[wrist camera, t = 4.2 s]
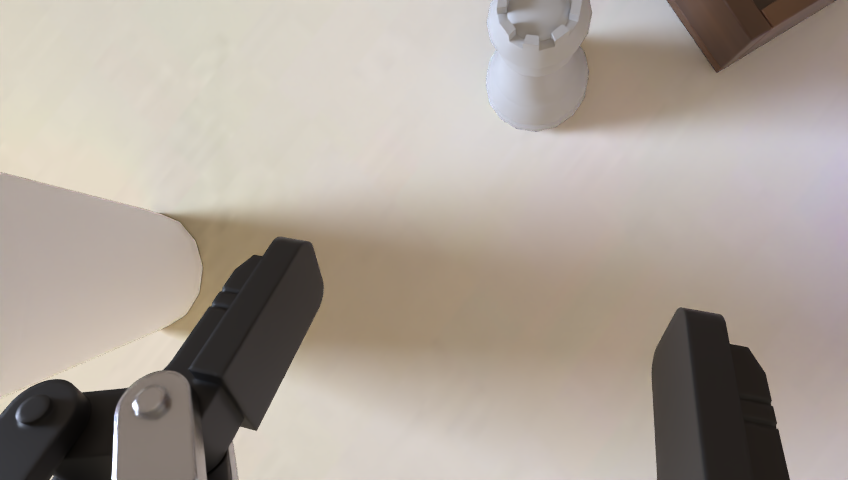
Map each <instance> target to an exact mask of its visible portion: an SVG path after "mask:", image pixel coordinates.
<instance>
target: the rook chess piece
mask: <svg viewBox="0 0 848 480" xmlns="http://www.w3.org/2000/svg"><path fill="white" fill-rule="evenodd" d="M591 16H592V10H591V5H590V0H492V1H491V3H490V8H489V14H488V19H487V26H488V31H489V36H490V41H491V43H492V44H493V45H494V47H495V48H496V51H495V52H494V54H493V56H492V57H491V59H490V61H489V66H488V71H487V76H486V82H487V83H486V87H487V92H488V97H489V102H490V105H491V106H492V108H493V109H494V110H495V112H496V113H497V115H498V116H499V117H500V119H501V120H503V121H505V122H506V123H508V124H510V125H511V126H513V127H515V128H516V129H521V130H528V131H535V132H537V131H541V130H546V129H550V128H554V127H557V126H558V125H560V124H561V123H562V122H564V121H565V120H567V119H568V118H570V117H571V116H572V115H573V114H574V113H575V111H576V110H577V108H578V107H579V105H580V104H581V102H582V101H583V99H584V97H585V92H586V87H587V82H588V74H589V70H588V66H587V61H586V56H585V52H584V51H583V49H582V48H581V47H580V45H581V43H582V41H583V40H584V38H585V37H586V35H587V34H588V31H589V26H590V21H591Z"/></svg>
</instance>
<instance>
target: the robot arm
mask: <svg viewBox="0 0 848 480" xmlns="http://www.w3.org/2000/svg"><path fill="white" fill-rule="evenodd" d="M323 290H324V285H323V280H322V276H321V273H320V269H319V266H318V262H317V259H316V255H315V252H314V248H313V245H312V244H311V243H310V242H308V241H303V240H297V239H291V238H285V237H277V238H276V239H274V240H273V242H272V243H271V244H270V246H269V247H268V249H267V250H266V252H265V254H264V255H263V256H257V255H253V256H252V257H251V258H249V259H248V260H247V261H245V262H244V263H243V264H242V265H240V266H239V267H238V268H236V269H235V270H234V272H233V273H232V275H231V276H230V278H229V279H228V280H227V282H226V283H225V285H224V286H223V289H222V291H221V292H219V293H218V295H217V296H216V298H215V299H214V301H213V302H212V306H211V307H210V306H209V308H208V309H207V311H206V312H205V313H204V315H203V316H202V318H201V319H200V321H199V322H198V324H197V325H196V326H195V328H194V329H193V331H192V332H191V334H190V335H189V336H188V338H187V339H186V341H185V342H184V344H183V345H182V347H181V348H180V349H179V351H178V352H177V354H176V355H175V357H174V358H173V359H172V361H171V362H170V363H169V365H168V366H167V367H166V368H165V369H164V370H162V371H157V372H153V373H150V374H148V375H146V376H144V377H142V378H140V379H139V380H137V381H136V382H134V383H133V384H132V385H131V386H130V387H129V388H124V389H114V390H103V391H93V392H83V393H82V392H81V391H79V390H78V389H77V388H76V387H75V386H74V385H73V384H72V383H70V382H68V381H66V380H60V379H54V380H48V381H44V382H41V383H38V384H36V385H34V386H32V387H30V388H28V389H27V390H25V391H24V392H22V393H21V394H20V395H18V396H17V397H16V398H15V399H14V400H13V401H12V402H11V403H10V404H9V405H8V406H7V407H6V409H5V410H4V411H3V412H2V414H1V415H0V480H49V479H50V478H51V476H52V475H54V477H53V478H52V480H239V479H238V472H237V465H236V457H235V450H234V444H233V441H232V440H233V438H234V437H235V435H236V433H237V431H238V429H239V427H240V426H241V427H244V428H248V429H252V430H256V431H257V429H258V427H259V425H260V423H261V421H262V419H263V417H264V415H265V413H266V411H267V409H268V408H269V406H270V404H271V402H272V400H273V398H274V396H275V394H276V392H277V390H278V388H279V386H280V384H281V382H282V380H283V378H284V376H285V374H286V372H287V370H288V368H289V366H290V364H291V362H292V360H293V358H294V356H295V354H296V352H297V350H298V348H299V346H300V344H301V342H302V340H303V338H304V336H305V335H306V333H307V331H308V329H309V327H310V325H311V323H312V321H313V319H314V317H315V315H316V313H317V311H318V309H319V307H320V304H321V301H322V297H323ZM652 390H653V409H654V427H655V445H656V463H657V480H790V478H789V474H788V470H787V465H786V461H785V457H784V452H783V448H782V444H781V439H780V435H779V430H778V429H776V424H777V422H776V417H775V413H774V409H773V406H771V401H772V400H771V396H770V391H769V387H768V382H767V378H766V374H765V372H764V371H763V369H762V368H761V366H760V365H759V363H758V362H757V360H756V359H755V357H754V356H753V354H752V353H751V351H750V350H749V348H748V347H743V346H738V345H733V344H729V338H728V333H727V327H726V322H725V320H724V318H723V316H722V315H720V314H715V313H709V312H704V311H698V310H692V309H686V308H678V309H677V311H676V312H675V314H674V316H673V318H672V320H671V321H670V323H669V325H668V327H667V329H666V331H665V333H664V334H663V336H662V338H661V340H660V342H659V344H658V345H657V348H656V350H655V353H654V357H653V363H652Z"/></svg>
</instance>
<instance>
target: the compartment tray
mask: <svg viewBox="0 0 848 480" xmlns="http://www.w3.org/2000/svg"><path fill="white" fill-rule="evenodd" d="M667 1H668V3H669V4H670V6H671V7H672V9H673V10H674V11H675V13H676V14H677V16H678V17H679V19H680V20H681V22H682V23H683V24H684V26H685V27H686V29H687V30H688V32H689V33H690V35H691V36H692V37H693V39H694V40H695V42H696V43H697V45H698V46H699V48H700V49H701V50H702V52H703V53H704V55H705V56H706V58H707V59H708V61H709V62H710V63H711V65H712V66H713V68H714V69H715V71H716V72H719V71H721V70H723V69H724V68H726V67H728V66H729V65H731V64H732V63H734V62H736V61H737V60H739V59H741V58H742V57H744V56H746V55H747V54H749V53H751V52H752V51H754V50H755V49H757V48H759V47H760V46H762V45H764V44H765V43H767V42H769V41H770V40H772V39H774V38H775V37H777V36H778V35H780V34H782V33H783V32H785V31H787V30H788V29H790V28H792V27H793V26H795V25H797V24H798V23H800V22H801V21H803V20H805V19H806V18H808V17H810V16H811V15H813V14H815V13H816V12H818V11H819V10H821V9H823V8H824V7H826V6H828V5H829V4H831V3H833V2H834V1H836V0H667Z"/></svg>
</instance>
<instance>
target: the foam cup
mask: <svg viewBox="0 0 848 480" xmlns="http://www.w3.org/2000/svg"><path fill="white" fill-rule="evenodd" d="M202 269H203V266H202V262H201V259H200V255H199V251H198V248H197V244H196V241H195V240H194V239H193V237H192V236H191V235H190V234H189V233H188V231H187V230H186V229H185V228H184V226H183V225H182V224H181V223H180V222H178V221H176V220H174V219H172V218H169V217H167V216H165V215H162V214H160V213H155V212H153V211H150V210H147V209H143V208H139V207H135V206H131V205H127V204H123V203H119V202H115V201H112V200H108V199H104V198H100V197H96V196H92V195H88V194H84V193H80V192H76V191H73V190H69V189H65V188H61V187H57V186H53V185H49V184H45V183H41V182H37V181H33V180H30V179H26V178H22V177H18V176H14V175H10V174H6V173H2V172H0V399H1V398H3V397H5V396H8V395H10V394H12V393H15V392H17V391H19V390H22V389H24V388H26V387H29V386H31V385H33V384H36V383H38V382H40V381H43V380H45V379H47V378H50V377H52V376H54V375H57V374H59V373H61V372H64V371H66V370H68V369H71V368H73V367H75V366H78V365H80V364H82V363H85V362H87V361H89V360H92V359H94V358H96V357H99V356H101V355H103V354H106V353H108V352H110V351H113V350H115V349H117V348H120V347H122V346H124V345H126V344H129V343H131V342H133V341H136V340H138V339H140V338H143V337H145V336H147V335H150V334H152V333H154V332H157V331H159V330H160V329H162V328H165V327H167V326H169V325H170V324H172V323H174V322H175V321H177V320H178V319H180V318H182V317H183V316H185V315H186V314H187V312H188V311H189V309H190V308H191V306H192V304H193V303H194V301H195V299H196V298H197V296H198V294H199V292H200V284H201V276H202Z"/></svg>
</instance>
